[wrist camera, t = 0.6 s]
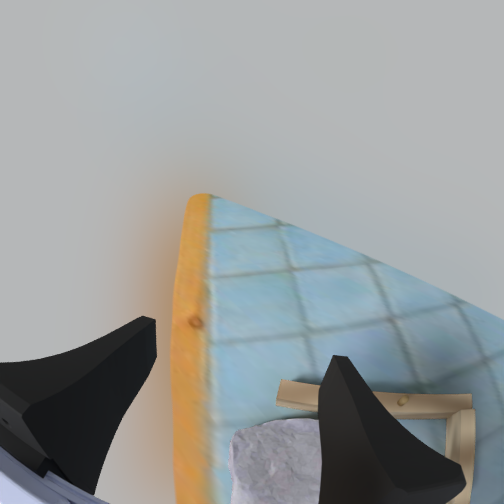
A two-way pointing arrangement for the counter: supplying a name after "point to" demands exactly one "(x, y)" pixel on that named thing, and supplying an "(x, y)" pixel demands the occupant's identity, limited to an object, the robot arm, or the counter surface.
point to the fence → (411, 407)
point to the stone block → (276, 463)
